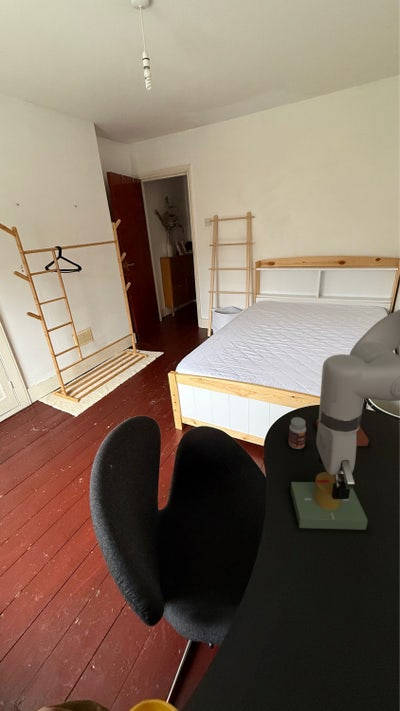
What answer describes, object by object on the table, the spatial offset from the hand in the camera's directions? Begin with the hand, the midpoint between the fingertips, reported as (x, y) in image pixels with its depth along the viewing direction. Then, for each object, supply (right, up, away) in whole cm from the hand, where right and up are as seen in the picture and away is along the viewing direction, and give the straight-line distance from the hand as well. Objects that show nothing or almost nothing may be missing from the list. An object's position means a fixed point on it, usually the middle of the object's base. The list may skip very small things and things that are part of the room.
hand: (332, 479), depth 66 cm
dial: (0, -6, +3) cm, 6 cm away
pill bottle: (0, 0, +24) cm, 24 cm away
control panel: (0, -9, +4) cm, 9 cm away
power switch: (+14, +3, +26) cm, 30 cm away
